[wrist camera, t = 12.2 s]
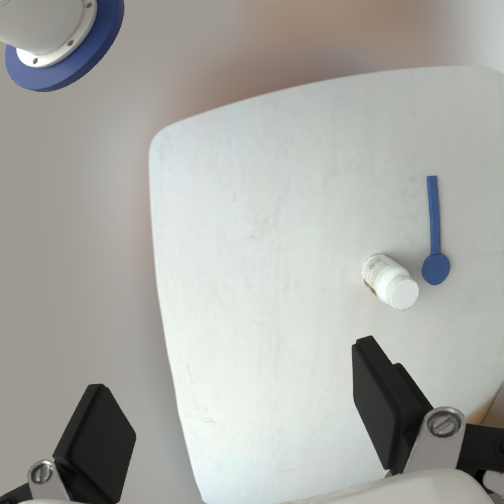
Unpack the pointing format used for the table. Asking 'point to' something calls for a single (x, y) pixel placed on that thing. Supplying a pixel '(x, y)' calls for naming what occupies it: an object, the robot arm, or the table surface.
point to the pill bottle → (390, 282)
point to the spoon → (435, 240)
